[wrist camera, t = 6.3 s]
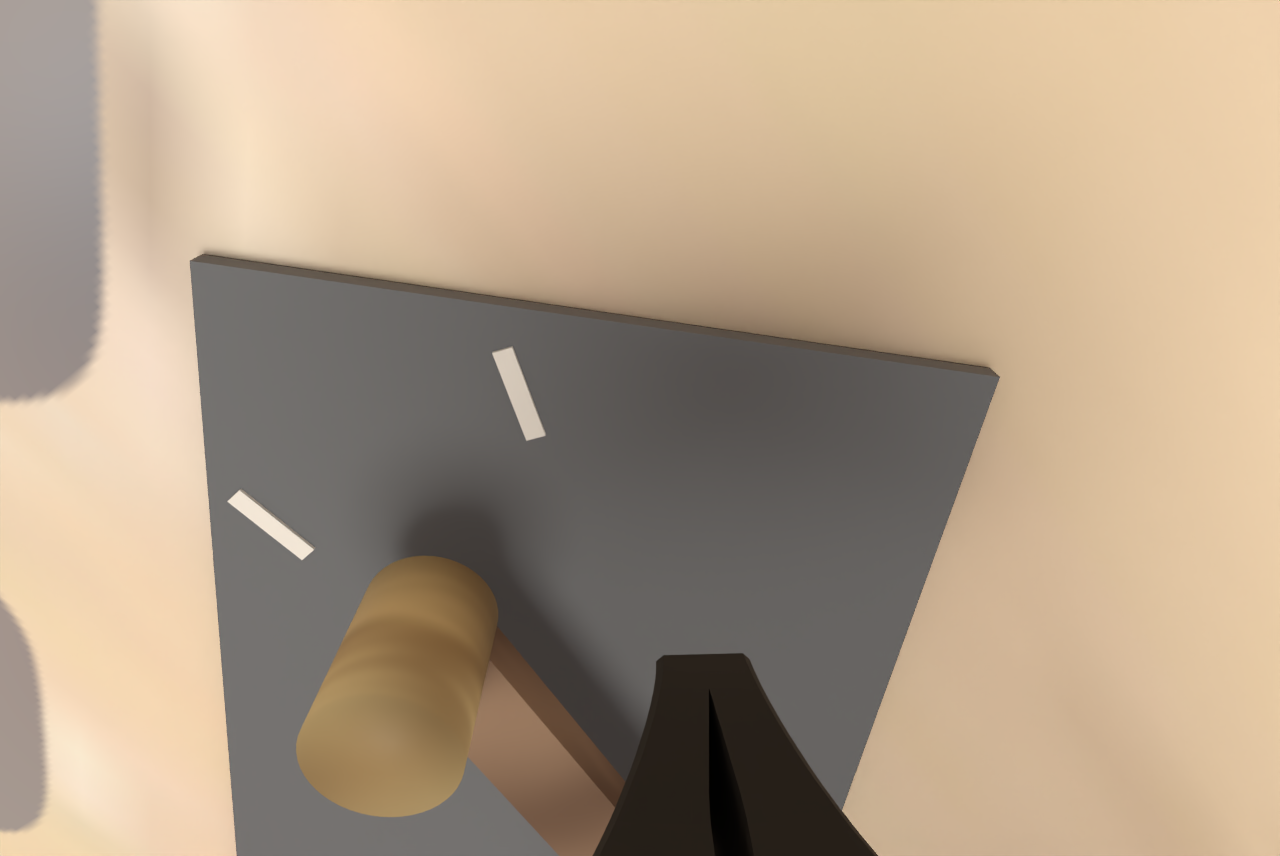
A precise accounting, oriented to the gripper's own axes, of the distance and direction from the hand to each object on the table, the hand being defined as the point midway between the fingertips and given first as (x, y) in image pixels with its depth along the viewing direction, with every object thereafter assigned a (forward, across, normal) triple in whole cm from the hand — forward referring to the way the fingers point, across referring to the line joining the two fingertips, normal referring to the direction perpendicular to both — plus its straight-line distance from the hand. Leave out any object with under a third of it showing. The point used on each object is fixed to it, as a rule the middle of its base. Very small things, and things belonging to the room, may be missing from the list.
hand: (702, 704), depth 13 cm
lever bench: (+9, +3, +7) cm, 12 cm away
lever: (+6, +2, +9) cm, 12 cm away
